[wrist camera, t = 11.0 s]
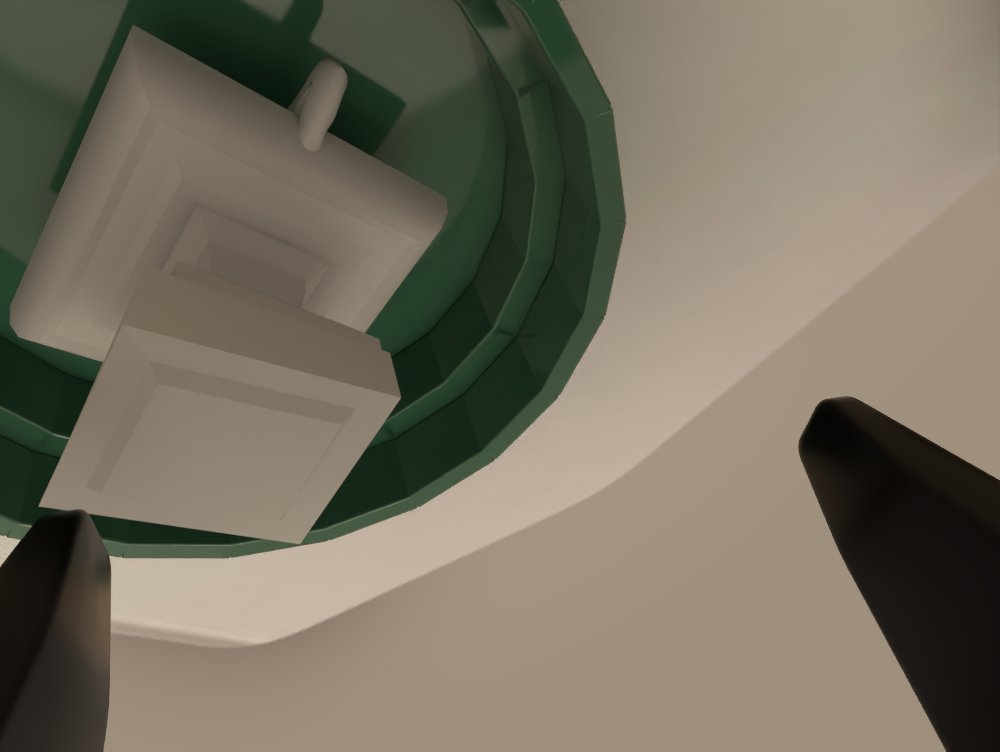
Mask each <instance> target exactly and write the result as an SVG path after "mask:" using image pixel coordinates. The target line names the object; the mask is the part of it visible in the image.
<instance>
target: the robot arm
mask: <svg viewBox="0 0 1000 752" xmlns="http://www.w3.org/2000/svg"><path fill="white" fill-rule="evenodd" d="M799 454H800V458H801V461H802V463H803V465H804V468H805V470H806V473H807V475H808V478H809V480H810V483H811V485H812V487H813V490H814V492H815V495H816V497H817V499H818V502H819V504H820V507H821V509H822V512H823V514H824V516H825V518H826V521H827V524H828V526H829V529H830V531H831V533H832V536H833V538H834V540H835V543H836V545H837V547H838V549H839V552H840V554H841V556H842V558H843V560H844V562H845V564H846V566H847V568H848V570H849V572H850V574H851V575H852V577H853V579H854V581H855V583H856V584H857V587H858V588H859V590H860V592H861V594H862V596H863V597H864V599H865V601H866V603H867V605H868V607H869V609H870V611H871V613H872V614H873V616H874V618H875V620H876V621H877V624H878V625H879V627H880V629H881V631H882V633H883V635H884V637H885V638H886V640H887V642H888V644H889V646H890V648H891V650H892V652H893V653H894V655H895V657H896V659H897V661H898V662H899V664H900V666H901V668H902V670H903V671H904V674H905V676H906V678H907V679H908V681H909V683H910V685H911V687H912V689H913V690H914V692H915V694H916V696H917V698H918V700H919V702H920V703H921V705H922V707H923V709H924V711H925V713H926V714H927V716H928V718H929V720H930V722H931V724H932V725H933V727H934V729H935V731H936V733H937V735H938V737H939V739H940V741H941V742H942V744H943V746H944V748H945V750H946V752H1000V480H998V479H996V478H995V477H993V476H991V475H989V474H988V473H986V472H984V471H982V470H981V469H979V468H977V467H975V466H974V465H972V464H970V463H968V462H966V461H965V460H963V459H961V458H960V457H958V456H956V455H954V454H952V453H951V452H949V451H947V450H946V449H944V448H942V447H940V446H939V445H937V444H935V443H933V442H932V441H930V440H928V439H926V438H925V437H923V436H921V435H919V434H918V433H916V432H914V431H912V430H911V429H909V428H907V427H905V426H904V425H901V424H900V423H898V422H897V421H895V420H893V419H891V418H890V417H888V416H886V415H884V414H883V413H881V412H879V411H877V410H876V409H874V408H872V407H870V406H869V405H867V404H865V403H863V402H862V401H860V400H858V399H856V398H853V397H849V396H845V397H837V398H830V399H825V400H822V401H821V402H820V403H819V404H818V405H817V406H816V408H815V410H814V412H813V414H812V416H811V418H810V420H809V422H808V424H807V425H806V428H805V429H804V431H803V433H802V435H801V437H800V440H799ZM110 618H111V565H110V559H109V555H108V552H107V549H106V547H105V545H104V543H103V541H102V539H101V537H100V535H99V533H98V531H97V529H96V527H95V525H94V523H93V521H92V519H91V517H90V516H89V514H88V513H87V512H86V511H84V510H82V509H75V510H68V511H62V512H55V513H49V514H45V515H43V516H42V517H40V518H39V519H38V520H37V521H36V522H35V523H34V524H33V525H32V527H31V528H30V529H29V531H28V532H27V533H26V534H25V536H24V537H23V538H22V540H21V541H20V542H19V543H18V545H17V546H16V547H15V549H14V550H13V551H12V552H11V554H10V555H9V556H8V558H7V559H6V560H5V561H4V563H3V564H2V565H1V567H0V752H103V749H104V742H105V735H106V728H107V718H108V709H109V688H110Z"/></svg>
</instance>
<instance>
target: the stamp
mask: <svg viewBox="0 0 1000 752" xmlns="http://www.w3.org/2000/svg"><path fill="white" fill-rule="evenodd" d="M347 83H348V79H347V74H346V72H345V70H344V68H343V67H342V65H341V63H340V62H339V61H338V60H337V59H335V58H332V57H327V58H324V59H322V60H321V61H319V63H318V64H317V65H316V66H315V68H314V69H313V71H312V72H311V74H310V75H309V77H308V78H307V80H306V82H305V84H304V86H303V87H302V89H301V90H300V92H299V93H298V95H297V96H296V97H295V99H294V100H293V102H292V103H291V104H290V106H289V107H288V109H285V108H283V107H282V106H280V105H278V104H276V103H274V102H272V101H271V100H269V99H267V98H265V97H263V96H262V95H260V94H258V93H256V92H254V91H253V90H251V89H249V88H247V87H245V86H243V85H242V84H240V83H238V82H236V81H234V80H233V79H231V78H229V77H227V76H225V75H223V74H222V73H220V72H218V71H216V70H214V69H213V68H211V67H209V66H207V65H205V64H204V63H202V62H200V61H198V60H196V59H194V58H193V57H191V56H189V55H187V54H185V53H184V52H182V51H180V50H178V49H176V48H175V47H173V46H171V45H169V44H167V43H165V42H164V41H162V40H160V39H158V38H156V37H155V36H153V35H151V34H149V33H147V32H145V31H144V30H142V29H140V28H138V27H136V26H135V25H133V26H132V28H131V30H130V33H129V35H128V37H127V40H126V42H125V44H124V46H123V49H122V51H121V53H120V56H119V58H118V60H117V62H116V65H115V67H114V69H113V72H112V74H111V76H110V79H109V81H108V83H107V85H106V88H105V90H104V92H103V95H102V97H101V99H100V101H99V104H98V106H97V108H96V111H95V113H94V115H93V117H92V120H91V122H90V124H89V127H88V129H87V131H86V133H85V136H84V138H83V140H82V143H81V145H80V147H79V150H78V152H77V154H76V156H75V159H74V161H73V163H72V166H71V168H70V170H69V172H68V175H67V177H66V179H65V182H64V184H63V186H62V188H61V191H60V193H59V195H58V198H57V200H56V202H55V204H54V207H53V209H52V211H51V214H50V216H49V218H48V221H47V223H46V225H45V227H44V230H43V232H42V234H41V237H40V239H39V241H38V243H37V246H36V248H35V250H34V253H33V255H32V257H31V259H30V262H29V264H28V266H27V269H26V271H25V273H24V276H23V278H22V280H21V282H20V285H19V287H18V289H17V292H16V294H15V296H14V298H13V301H12V303H11V305H10V320H9V324H10V325H11V327H12V328H13V330H14V331H15V333H16V334H17V336H18V337H20V338H23V339H26V340H29V341H33V342H36V343H40V344H43V345H46V346H50V347H53V348H57V349H60V350H63V351H67V352H70V353H74V354H77V355H80V356H84V357H87V358H91V359H94V360H97V361H101V362H103V363H102V366H101V368H100V370H99V372H98V375H97V377H96V379H95V382H94V384H93V386H92V388H91V391H90V393H89V395H88V398H87V400H86V402H85V404H84V407H83V409H82V411H81V413H80V416H79V418H78V420H77V423H76V425H75V427H74V429H73V432H72V434H71V436H70V438H69V441H68V443H67V445H66V447H65V450H64V452H63V454H62V456H61V458H60V460H59V463H58V465H57V467H56V469H55V471H54V473H53V476H52V478H51V480H50V482H49V484H48V486H47V489H46V491H45V493H44V495H43V497H42V499H41V502H40V504H39V507H46V508H53V509H60V510H67V511H68V510H75V509H82V510H84V511H86V512H87V513H88V514H95V515H102V516H108V517H115V518H122V519H129V520H136V521H143V522H150V523H157V524H164V525H170V526H177V527H184V528H191V529H198V530H205V531H212V532H219V533H226V534H232V535H239V536H246V537H253V538H260V539H267V540H274V541H281V542H288V543H295V544H300V543H301V542H302V541H303V539H304V538H305V536H306V535H307V533H308V532H309V530H310V529H311V528H312V526H313V525H314V523H315V522H316V520H317V519H318V517H319V516H320V515H321V513H322V512H323V510H324V509H325V507H326V506H327V504H328V503H329V502H330V500H331V499H332V497H333V496H334V494H335V493H336V491H337V490H338V489H339V487H340V486H341V484H342V483H343V481H344V480H345V478H346V477H347V475H348V474H349V473H350V471H351V470H352V468H353V467H354V465H355V464H356V462H357V461H358V460H359V458H360V457H361V455H362V454H363V452H364V451H365V449H366V448H367V447H368V445H369V444H370V442H371V441H372V439H373V438H374V436H375V435H376V434H377V432H378V431H379V429H380V428H381V426H382V425H383V423H384V422H385V421H386V419H387V418H388V416H389V415H390V413H391V412H392V410H393V409H394V407H395V406H396V405H397V403H398V402H399V400H400V399H401V395H400V391H399V387H398V383H397V379H396V375H395V371H394V367H393V363H392V359H391V355H390V353H389V352H387V351H384V350H382V349H381V344H380V339H378V338H375V337H373V336H371V335H368V334H366V333H365V332H366V331H367V329H368V328H369V327H370V325H371V324H372V322H373V321H374V320H375V318H376V317H377V316H378V314H379V313H380V312H381V310H382V309H383V307H384V306H385V305H386V303H387V302H388V301H389V299H390V298H391V297H392V295H393V294H394V292H395V291H396V290H397V288H398V287H399V286H400V284H401V283H402V282H403V280H404V279H405V278H406V276H407V275H408V273H409V272H410V271H411V269H412V268H413V267H414V265H415V264H416V263H417V261H418V260H419V258H420V257H421V256H422V254H423V253H424V252H425V250H426V249H427V248H428V246H429V245H430V243H431V242H432V241H433V239H434V238H435V237H436V235H437V234H438V233H439V231H440V230H441V228H442V226H443V223H444V221H445V219H446V216H447V214H448V208H447V197H445V196H443V195H441V194H439V193H438V192H436V191H434V190H432V189H430V188H429V187H427V186H425V185H423V184H421V183H419V182H418V181H416V180H414V179H412V178H410V177H409V176H407V175H405V174H403V173H401V172H399V171H398V170H396V169H394V168H392V167H390V166H389V165H387V164H385V163H383V162H381V161H380V160H378V159H376V158H374V157H372V156H370V155H369V154H367V153H365V152H363V151H361V150H360V149H358V148H356V147H354V146H352V145H351V144H349V143H347V142H345V141H343V140H341V139H340V138H338V137H336V136H334V135H332V134H331V133H329V132H327V130H328V128H329V127H330V125H331V124H332V122H333V120H334V118H335V116H336V113H337V110H338V108H339V105H340V102H341V99H342V97H343V94H344V92H345V89H346V86H347Z"/></svg>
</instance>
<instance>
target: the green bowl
mask: <svg viewBox="0 0 1000 752" xmlns="http://www.w3.org/2000/svg"><path fill="white" fill-rule="evenodd" d="M133 25H135V26H136V27H138V28H140V29H142V30H144V31H145V32H147V33H149V34H151V35H153V36H155V37H156V38H158V39H160V40H162V41H164V42H165V43H167V44H169V45H171V46H173V47H175V48H176V49H178V50H180V51H182V52H184V53H185V54H187V55H189V56H191V57H193V58H194V59H196V60H198V61H200V62H202V63H204V64H205V65H207V66H209V67H211V68H213V69H214V70H216V71H218V72H220V73H222V74H223V75H225V76H227V77H229V78H231V79H233V80H234V81H236V82H238V83H240V84H242V85H243V86H245V87H247V88H249V89H251V90H253V91H254V92H256V93H258V94H260V95H262V96H263V97H265V98H267V99H269V100H271V101H272V102H274V103H276V104H278V105H280V106H282V107H283V108H285V109H288V107H289V106H290V104H291V103H292V102H293V100H294V99H295V97H296V96H297V95H298V93H299V92H300V90H301V89H302V87H303V86H304V84H305V82H306V80H307V78H308V77H309V75H310V74H311V72H312V71H313V69H314V68H315V66H316V65H317V64H318V63H319V61H321V60H322V59H324V58H327V57H332V58H335V59H337V60H338V61H339V62H340V63H341V65H342V67H343V68H344V70H345V72H346V74H347V79H348V83H347V86H346V89H345V92H344V94H343V97H342V99H341V102H340V105H339V108H338V110H337V113H336V116H335V118H334V120H333V122H332V124H331V125H330V127H329V128H328V130H327V132H329V133H331V134H332V135H334V136H336V137H338V138H340V139H341V140H343V141H345V142H347V143H349V144H351V145H352V146H354V147H356V148H358V149H360V150H361V151H363V152H365V153H367V154H369V155H370V156H372V157H374V158H376V159H378V160H380V161H381V162H383V163H385V164H387V165H389V166H390V167H392V168H394V169H396V170H398V171H399V172H401V173H403V174H405V175H407V176H409V177H410V178H412V179H414V180H416V181H418V182H419V183H421V184H423V185H425V186H427V187H429V188H430V189H432V190H434V191H436V192H438V193H439V194H441V195H443V196H445V197H447V208H448V214H447V216H446V219H445V221H444V223H443V226H442V228H441V230H440V231H439V233H438V234H437V235H436V237H435V238H434V239H433V241H432V242H431V243H430V245H429V246H428V248H427V249H426V250H425V252H424V253H423V254H422V256H421V257H420V258H419V260H418V261H417V263H416V264H415V265H414V267H413V268H412V269H411V271H410V272H409V273H408V275H407V276H406V278H405V279H404V280H403V282H402V283H401V284H400V286H399V287H398V288H397V290H396V291H395V292H394V294H393V295H392V297H391V298H390V299H389V301H388V302H387V303H386V305H385V306H384V307H383V309H382V310H381V312H380V313H379V314H378V316H377V317H376V318H375V320H374V321H373V322H372V324H371V325H370V327H369V328H368V329H367V331H366V332H365V333H366V334H368V335H371V336H373V337H375V338H378V339H380V344H381V349H382V350H384V351H387V352H389V353H390V355H391V359H392V363H393V367H394V371H395V375H396V379H397V383H398V387H399V391H400V395H401V399H400V400H399V402H398V403H397V405H396V406H395V407H394V409H393V410H392V412H391V413H390V415H389V416H388V418H387V419H386V421H385V422H384V423H383V425H382V426H381V428H380V429H379V431H378V432H377V434H376V435H375V436H374V438H373V439H372V441H371V442H370V444H369V445H368V447H367V448H366V449H365V451H364V452H363V454H362V455H361V457H360V458H359V460H358V461H357V462H356V464H355V465H354V467H353V468H352V470H351V471H350V473H349V474H348V475H347V477H346V478H345V480H344V481H343V483H342V484H341V486H340V487H339V489H338V490H337V491H336V493H335V494H334V496H333V497H332V499H331V500H330V502H329V503H328V504H327V506H326V507H325V509H324V510H323V512H322V513H321V515H320V516H319V517H318V519H317V520H316V522H315V523H314V525H313V526H312V528H311V529H310V530H309V532H308V533H307V535H306V536H305V538H304V539H303V541H302V542H301V543H300V544H295V543H288V542H281V541H274V540H267V539H260V538H253V537H246V536H239V535H232V534H226V533H219V532H212V531H205V530H198V529H191V528H184V527H177V526H170V525H164V524H157V523H150V522H143V521H136V520H129V519H122V518H115V517H108V516H102V515H95V514H89V516H90V517H91V519H92V521H93V523H94V525H95V527H96V529H97V531H98V533H99V535H100V537H101V539H102V541H103V543H104V545H105V547H106V549H107V552H108V555H109V556H114V557H121V556H122V558H230V557H231V558H234V557H239V556H245V555H251V554H257V553H262V552H268V551H274V550H279V549H285V548H291V547H297V546H302V545H308V544H314V543H320V542H325V541H328V540H332V539H335V538H338V537H340V536H343V535H346V534H349V533H351V532H354V531H357V530H359V529H362V528H365V527H367V526H370V525H373V524H375V523H378V522H381V521H384V520H386V519H389V518H392V517H394V516H397V515H400V514H402V513H405V512H408V511H411V510H413V509H416V508H417V507H420V506H422V505H423V504H425V503H427V502H428V501H430V500H431V499H433V498H435V497H436V496H438V495H439V494H441V493H443V492H444V491H446V490H448V489H449V488H451V487H452V486H454V485H456V484H457V483H459V482H460V481H462V480H464V479H465V478H467V477H469V476H470V475H472V474H473V473H475V472H477V471H478V470H480V469H481V468H483V467H485V466H486V465H488V464H490V463H491V462H493V461H494V459H496V458H498V457H499V456H500V455H501V454H502V453H503V452H504V451H505V450H506V449H507V448H508V447H509V446H510V445H511V444H512V443H513V442H514V441H515V440H516V439H517V438H518V437H519V436H520V435H521V434H522V433H523V432H524V431H525V430H526V429H527V428H528V427H529V426H530V425H531V424H532V423H533V422H534V421H535V420H536V419H537V418H538V417H539V416H540V415H541V414H542V413H543V412H544V411H545V410H546V409H547V408H548V407H549V406H550V405H551V404H552V403H553V402H554V401H555V400H556V399H557V398H558V396H559V395H560V394H561V392H562V391H563V389H564V387H565V386H566V384H567V382H568V380H569V379H570V377H571V375H572V373H573V372H574V370H575V368H576V366H577V365H578V363H579V361H580V360H581V358H582V356H583V354H584V353H585V351H586V349H587V347H588V346H589V344H590V342H591V340H592V339H593V337H594V335H595V334H596V332H597V330H598V328H599V327H600V325H601V323H602V321H603V320H604V316H605V315H606V311H607V306H608V302H609V297H610V292H611V288H612V283H613V279H614V274H615V270H616V265H617V261H618V256H619V251H620V247H621V242H622V238H623V233H624V229H625V224H626V221H625V219H626V212H625V204H624V196H623V188H622V180H621V172H620V164H619V156H618V148H617V140H616V132H615V124H614V116H613V109H612V108H611V103H610V101H609V99H608V97H607V95H606V93H605V91H604V89H603V87H602V85H601V83H600V81H599V79H598V77H597V75H596V73H595V71H594V70H593V68H592V66H591V64H590V62H589V60H588V58H587V56H586V54H585V52H584V50H583V48H582V46H581V44H580V42H579V40H578V39H577V37H576V35H575V33H574V31H573V29H572V27H571V25H570V23H569V21H568V19H567V17H566V15H565V13H564V11H563V9H562V7H561V6H560V4H559V2H558V0H0V535H2V536H5V535H6V536H7V537H9V538H15V539H20V540H22V538H23V537H24V536H25V534H26V533H27V532H28V531H29V529H30V528H31V527H32V525H33V524H34V523H35V522H36V521H37V520H38V519H39V518H40V517H42V516H43V515H45V514H49V513H55V512H62V511H67V510H60V509H53V508H46V507H39V504H40V502H41V499H42V497H43V495H44V493H45V491H46V489H47V486H48V484H49V482H50V480H51V478H52V476H53V473H54V471H55V469H56V467H57V465H58V463H59V460H60V458H61V456H62V454H63V452H64V450H65V447H66V445H67V443H68V441H69V438H70V436H71V434H72V432H73V429H74V427H75V425H76V423H77V420H78V418H79V416H80V413H81V411H82V409H83V407H84V404H85V402H86V400H87V398H88V395H89V393H90V391H91V388H92V386H93V384H94V382H95V379H96V377H97V375H98V372H99V370H100V368H101V366H102V363H103V362H101V361H97V360H94V359H91V358H87V357H84V356H80V355H77V354H74V353H70V352H67V351H63V350H60V349H57V348H53V347H50V346H46V345H43V344H40V343H36V342H33V341H29V340H26V339H23V338H20V337H18V336H17V334H16V333H15V331H14V330H13V328H12V327H11V325H10V324H9V320H10V305H11V303H12V301H13V298H14V296H15V294H16V292H17V289H18V287H19V285H20V282H21V280H22V278H23V276H24V273H25V271H26V269H27V266H28V264H29V262H30V259H31V257H32V255H33V253H34V250H35V248H36V246H37V243H38V241H39V239H40V237H41V234H42V232H43V230H44V227H45V225H46V223H47V221H48V218H49V216H50V214H51V211H52V209H53V207H54V204H55V202H56V200H57V198H58V195H59V193H60V191H61V188H62V186H63V184H64V182H65V179H66V177H67V175H68V172H69V170H70V168H71V166H72V163H73V161H74V159H75V156H76V154H77V152H78V150H79V147H80V145H81V143H82V140H83V138H84V136H85V133H86V131H87V129H88V127H89V124H90V122H91V120H92V117H93V115H94V113H95V111H96V108H97V106H98V104H99V101H100V99H101V97H102V95H103V92H104V90H105V88H106V85H107V83H108V81H109V79H110V76H111V74H112V72H113V69H114V67H115V65H116V62H117V60H118V58H119V56H120V53H121V51H122V49H123V46H124V44H125V42H126V40H127V37H128V35H129V33H130V30H131V28H132V26H133Z"/></svg>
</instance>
